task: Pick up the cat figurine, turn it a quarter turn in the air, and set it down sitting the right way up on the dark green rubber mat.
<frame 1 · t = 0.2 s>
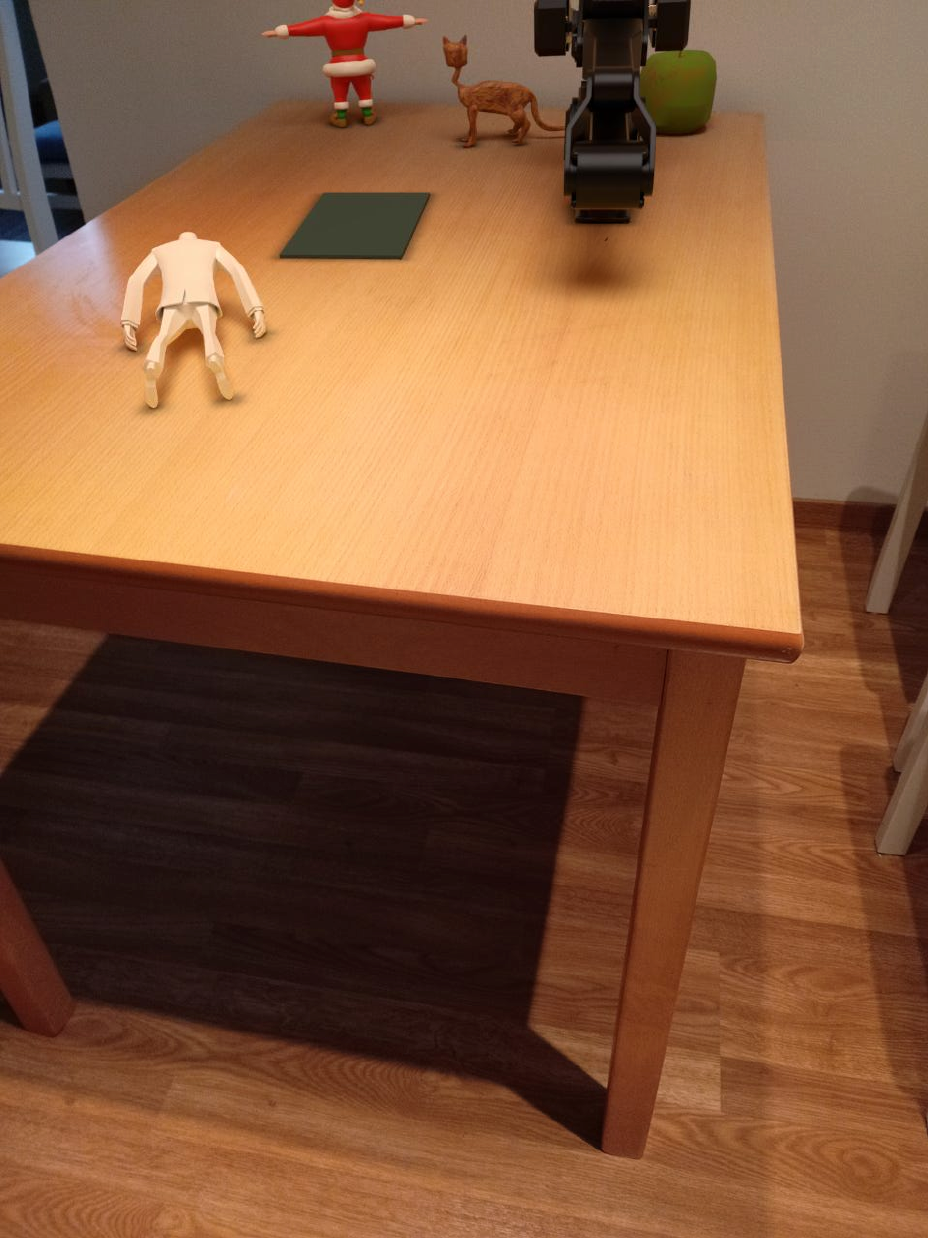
hand: (610, 13, 126), 17 cm above the table, tool horizontal, fingers open, 9 cm apart
santa figurine: (355, 125, 154), on the table
apple: (673, 129, 146), on the table
male figurine: (197, 348, 94), on the table
cat figurine: (508, 142, 144), on the table
mat: (359, 224, 118), on the table
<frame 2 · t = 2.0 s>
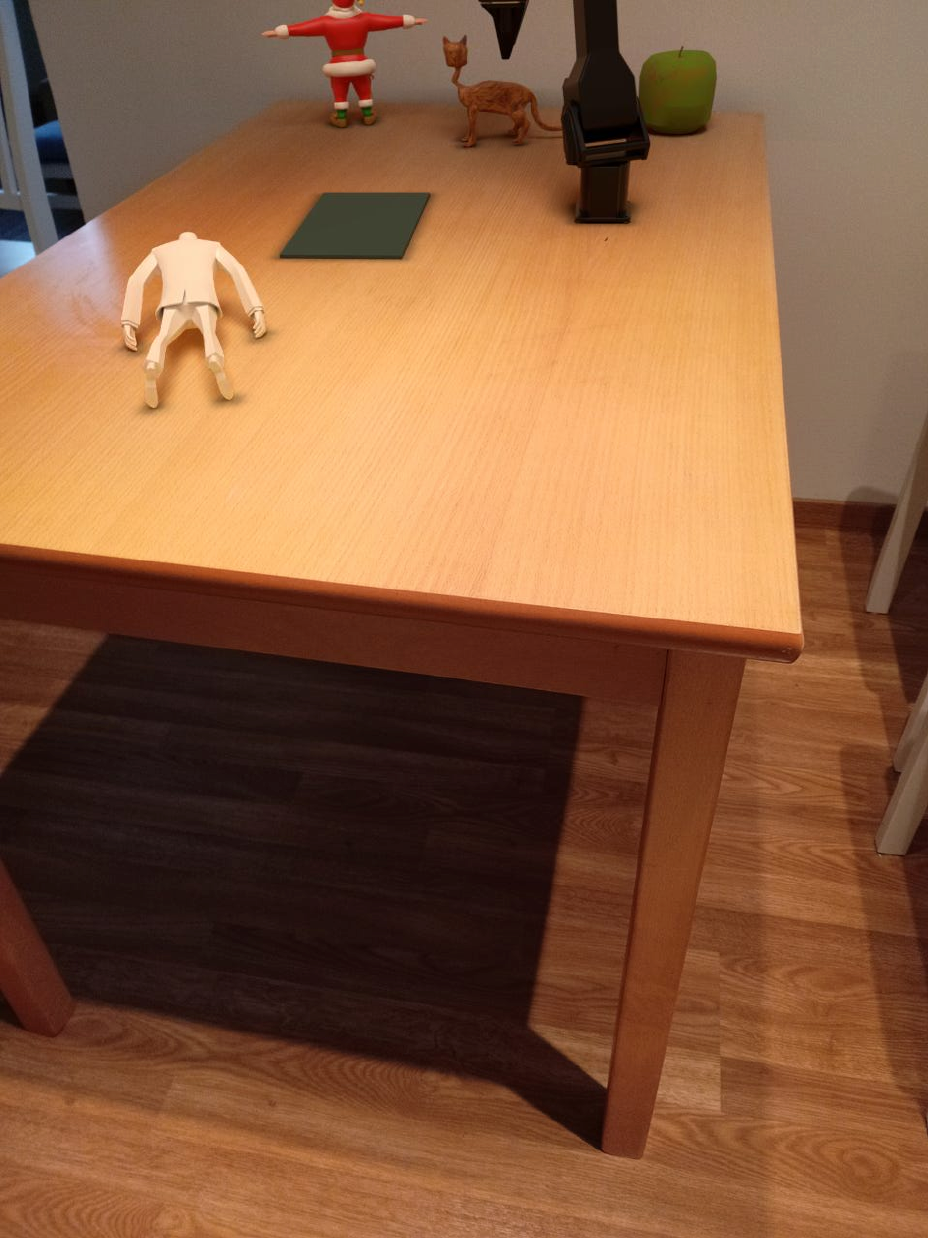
hand: (508, 51, 136), 11 cm above the table, tool pointing down, fingers open, 9 cm apart
nothing on the table moved.
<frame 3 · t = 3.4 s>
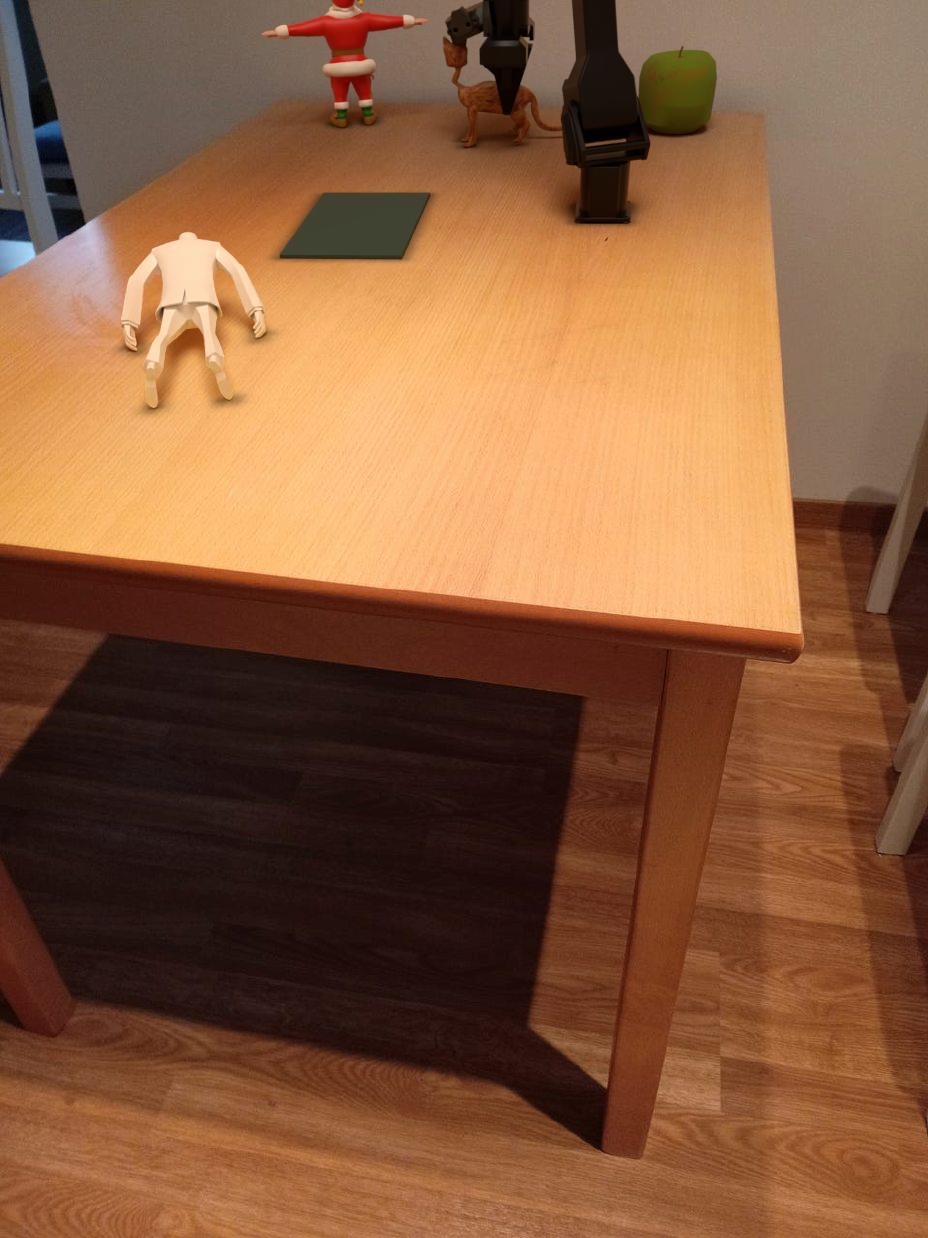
hand: (508, 108, 141), 4 cm above the table, tool pointing down, fingers closed on cat figurine, 6 cm apart
cat figurine: (508, 142, 144), on the table, touching gripper
everything else where it was.
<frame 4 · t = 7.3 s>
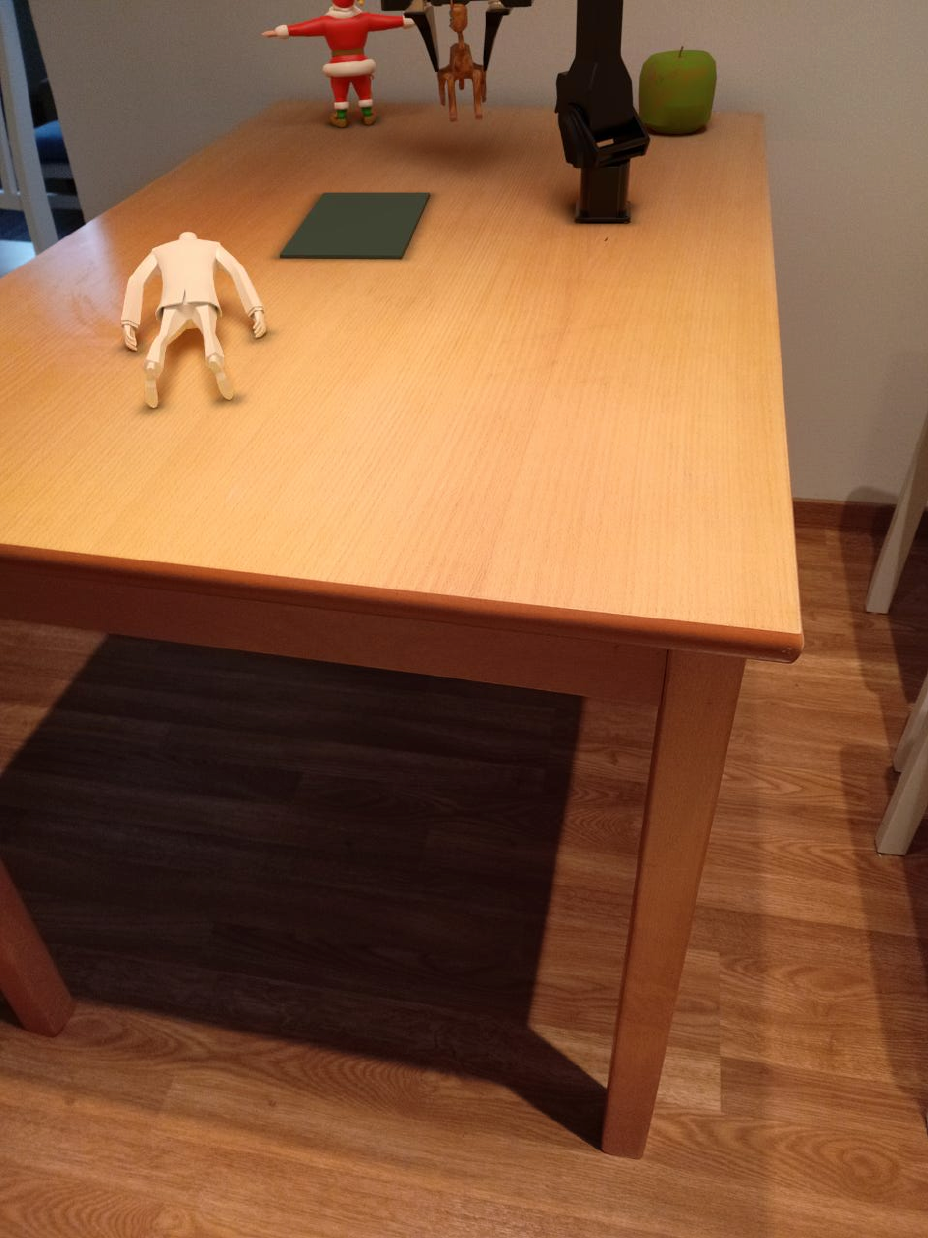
hand: (461, 71, 127), 12 cm above the table, tool pointing down, fingers closed on cat figurine, 6 cm apart
cat figurine: (464, 109, 130), point 7 cm above the table, touching gripper
everything else where it was.
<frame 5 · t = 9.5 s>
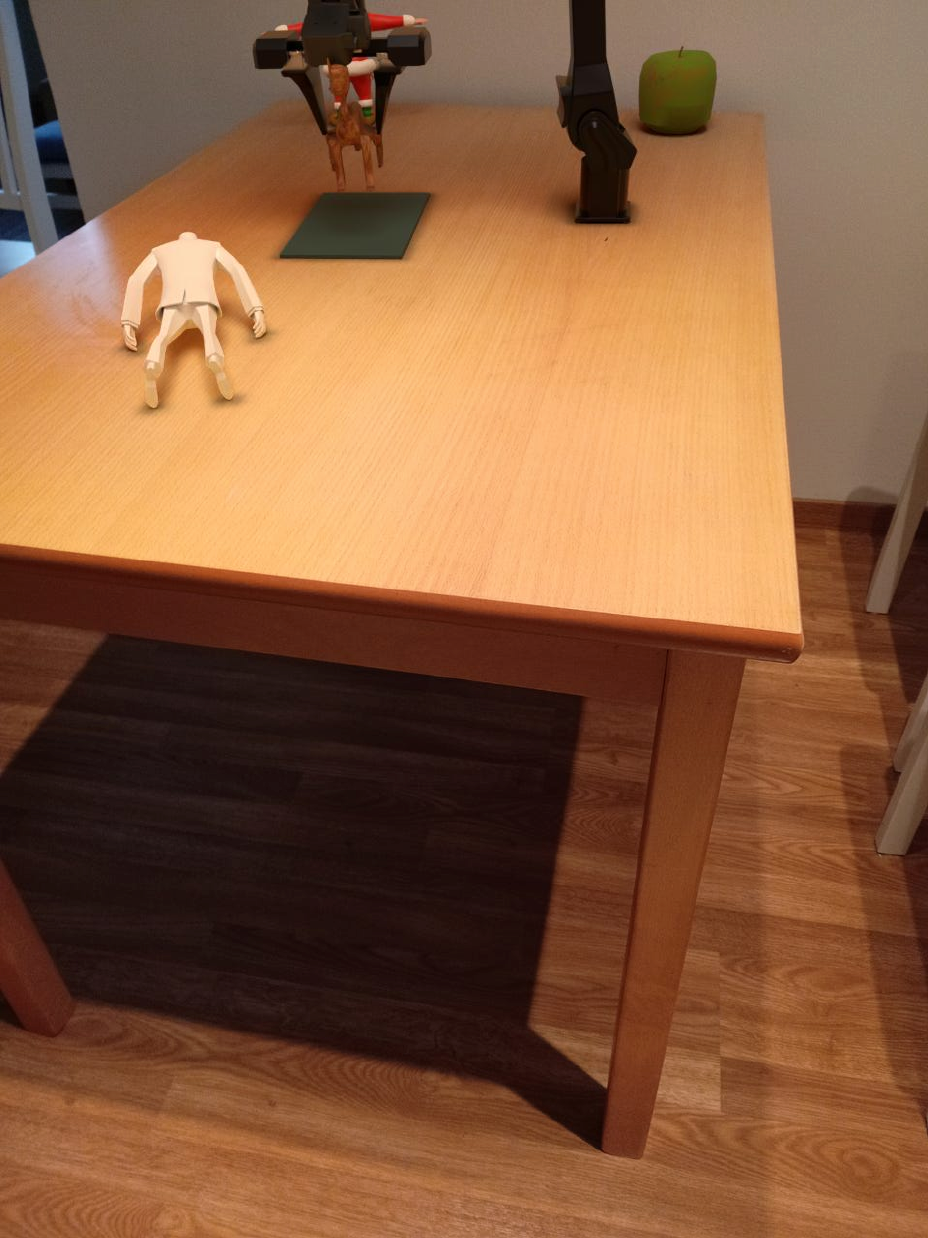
hand: (351, 134, 112), 10 cm above the table, tool pointing down, fingers closed on cat figurine, 6 cm apart
cat figurine: (358, 176, 115), point 5 cm above the table, touching gripper
everything else where it was.
when the fingers open (5 cm above the table, at t = 11.3 s): cat figurine stays where it is, resting on mat.
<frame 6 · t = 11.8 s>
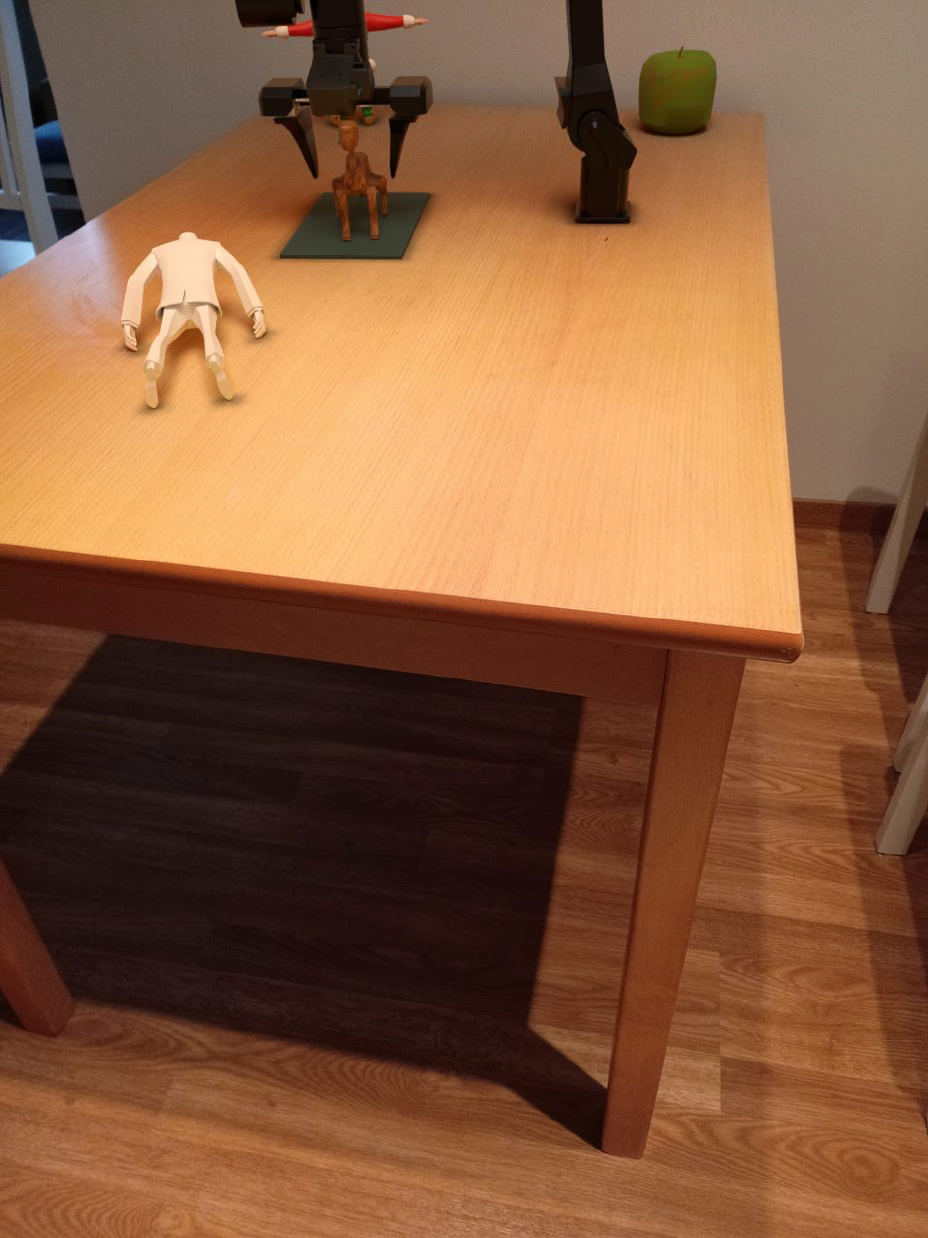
hand: (354, 177, 115), 5 cm above the table, tool pointing down, fingers open, 9 cm apart
cat figurine: (362, 222, 118), resting on mat
everything else where it was.
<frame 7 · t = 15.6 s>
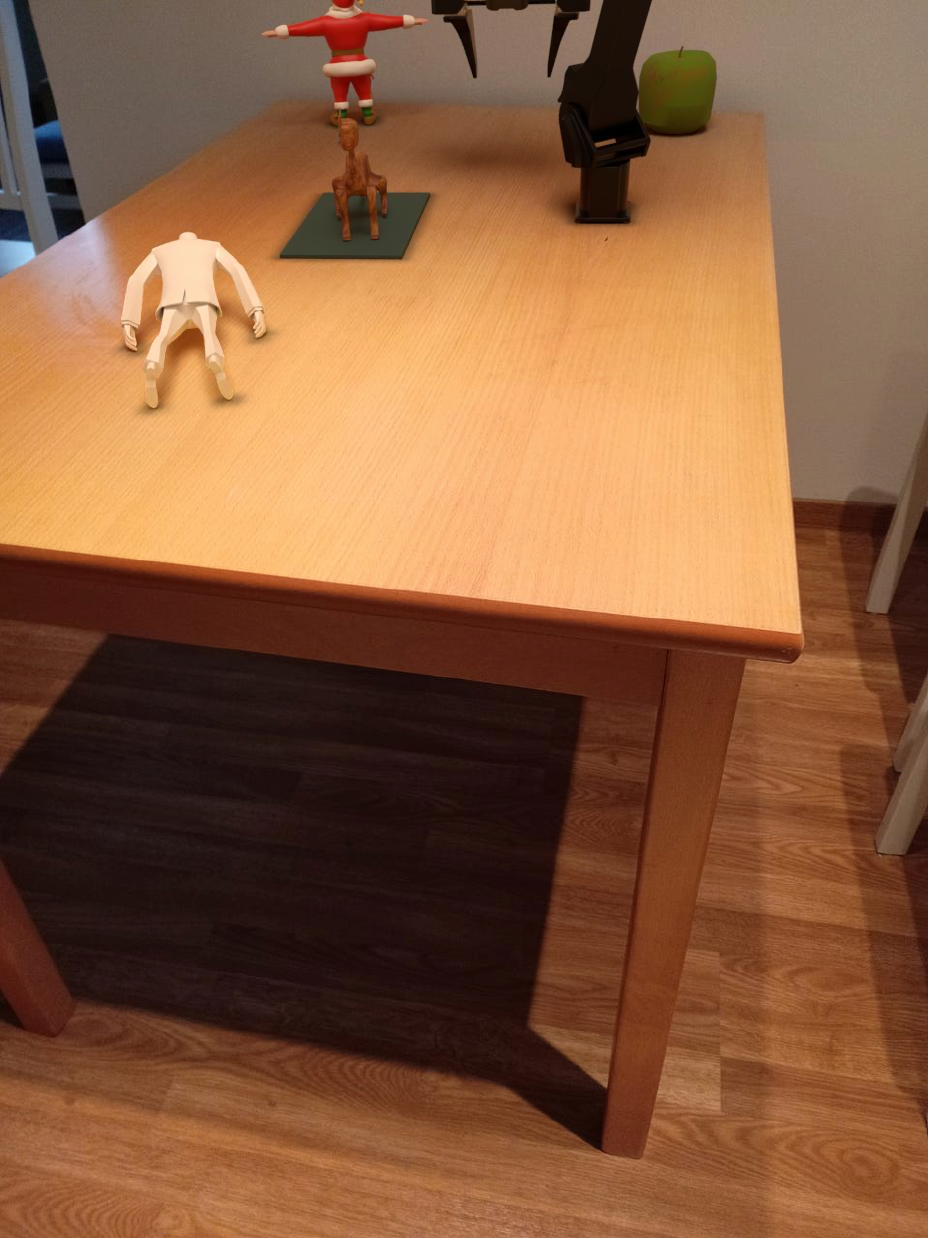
hand: (512, 77, 122), 12 cm above the table, tool pointing down, fingers open, 9 cm apart
nothing on the table moved.
at the end: cat figurine inside the target area on the mat (0.3 cm from its centre), point 0.2 cm above the mat's base; cat figurine tilted 0°; the gripper is holding nothing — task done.
